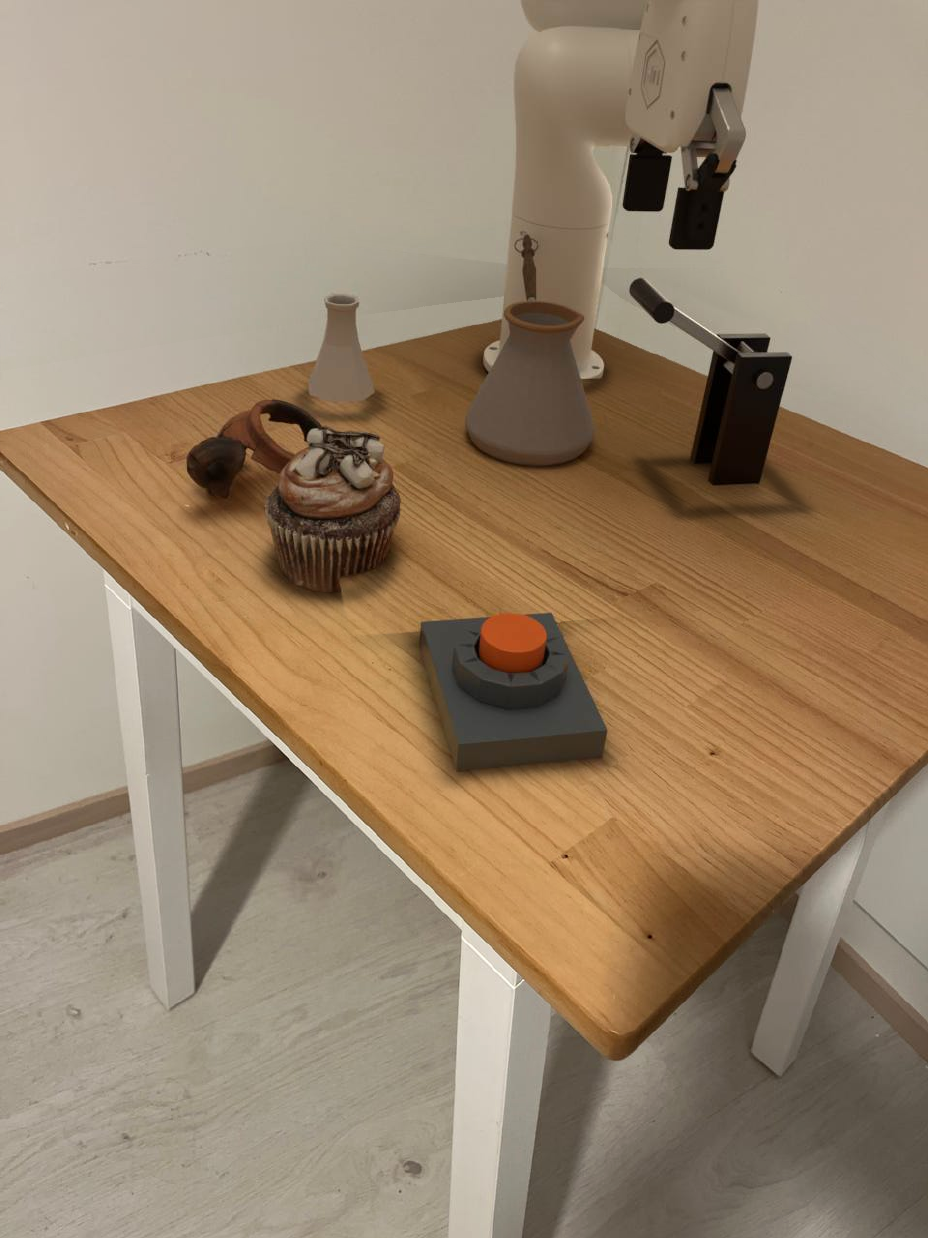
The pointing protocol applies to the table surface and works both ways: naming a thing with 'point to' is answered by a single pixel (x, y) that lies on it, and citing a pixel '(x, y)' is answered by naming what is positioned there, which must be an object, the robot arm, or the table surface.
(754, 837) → the table surface
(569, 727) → the button box
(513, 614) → the button
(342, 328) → the flask
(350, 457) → the cupcake
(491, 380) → the coffee pot
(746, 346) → the lever
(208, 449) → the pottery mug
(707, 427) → the bracket
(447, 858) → the table surface
